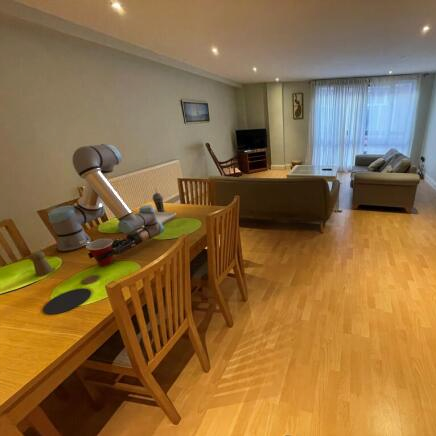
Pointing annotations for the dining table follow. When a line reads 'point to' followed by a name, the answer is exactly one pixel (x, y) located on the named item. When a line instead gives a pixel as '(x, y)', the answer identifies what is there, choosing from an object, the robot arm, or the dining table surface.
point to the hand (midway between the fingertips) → (93, 257)
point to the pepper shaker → (40, 263)
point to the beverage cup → (158, 201)
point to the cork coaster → (90, 279)
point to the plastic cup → (101, 250)
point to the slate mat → (67, 301)
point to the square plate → (162, 217)
